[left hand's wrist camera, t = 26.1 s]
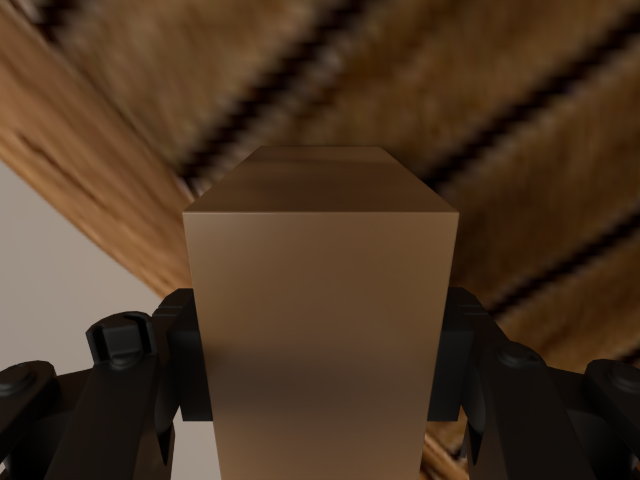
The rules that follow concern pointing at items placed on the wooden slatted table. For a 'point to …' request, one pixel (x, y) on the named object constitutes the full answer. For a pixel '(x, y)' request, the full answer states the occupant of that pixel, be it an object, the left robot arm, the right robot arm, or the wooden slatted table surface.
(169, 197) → the wooden slatted table surface
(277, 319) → the brick
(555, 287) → the wooden slatted table surface
